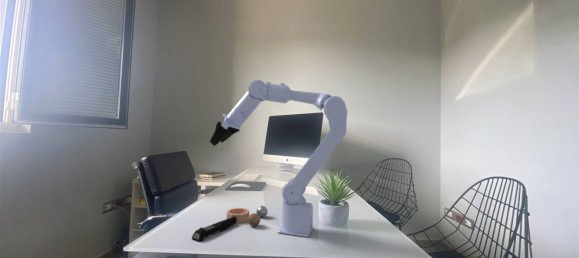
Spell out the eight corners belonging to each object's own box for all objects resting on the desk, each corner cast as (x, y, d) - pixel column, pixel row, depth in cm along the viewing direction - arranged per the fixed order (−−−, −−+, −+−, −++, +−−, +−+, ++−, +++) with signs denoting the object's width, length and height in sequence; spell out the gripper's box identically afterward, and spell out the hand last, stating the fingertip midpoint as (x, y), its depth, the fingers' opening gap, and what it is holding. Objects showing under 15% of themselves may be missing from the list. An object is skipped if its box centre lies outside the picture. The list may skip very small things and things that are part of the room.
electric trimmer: (239, 226, 76) (239, 216, 76) (199, 243, 62) (200, 231, 62) (230, 224, 78) (231, 214, 78) (190, 240, 64) (191, 228, 64)
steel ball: (269, 216, 85) (269, 205, 85) (264, 219, 81) (265, 208, 82) (258, 214, 86) (259, 204, 87) (254, 218, 83) (254, 206, 83)
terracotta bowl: (252, 216, 84) (252, 209, 84) (242, 224, 76) (242, 215, 76) (233, 214, 86) (234, 207, 86) (222, 221, 78) (222, 213, 78)
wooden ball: (262, 224, 76) (262, 212, 77) (257, 229, 73) (257, 216, 73) (251, 223, 77) (251, 211, 78) (245, 227, 74) (246, 214, 74)
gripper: (238, 104, 84) (214, 132, 85) (226, 102, 70) (198, 136, 71) (252, 117, 85) (229, 144, 86) (244, 118, 70) (215, 151, 71)
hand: (216, 142), depth 78 cm, fingers open, 7 cm apart
